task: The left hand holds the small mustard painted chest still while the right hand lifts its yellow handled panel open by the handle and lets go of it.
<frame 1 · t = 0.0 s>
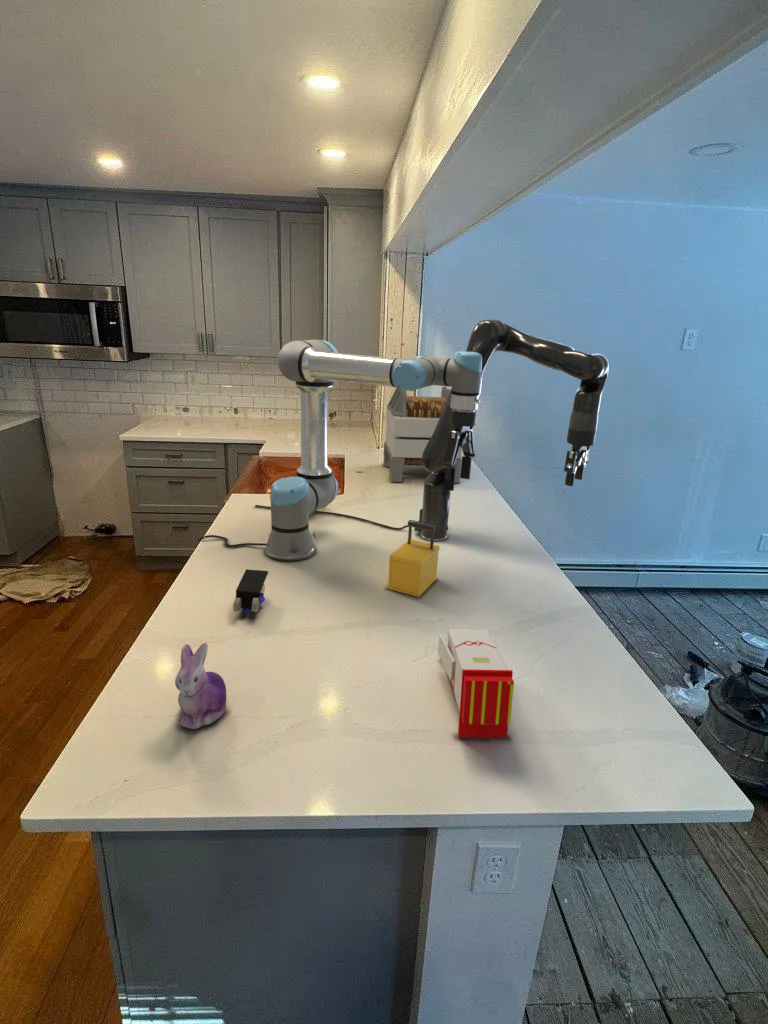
left hand: (457, 484, 163), 28 cm above the counter, tool pointing down, fingers open, 13 cm apart
right hand: (573, 482, 165), 29 cm above the counter, tool pointing down, fingers open, 8 cm apart
figurine character: (252, 606, 148), on the counter
grey storage bin: (419, 473, 275), on the counter
toy: (469, 691, 119), on the counter
chest: (412, 583, 164), on the counter
figurine: (203, 714, 109), on the counter
yellow handled panel: (416, 540, 160), point 14 cm above the counter, hinge at 0.0°
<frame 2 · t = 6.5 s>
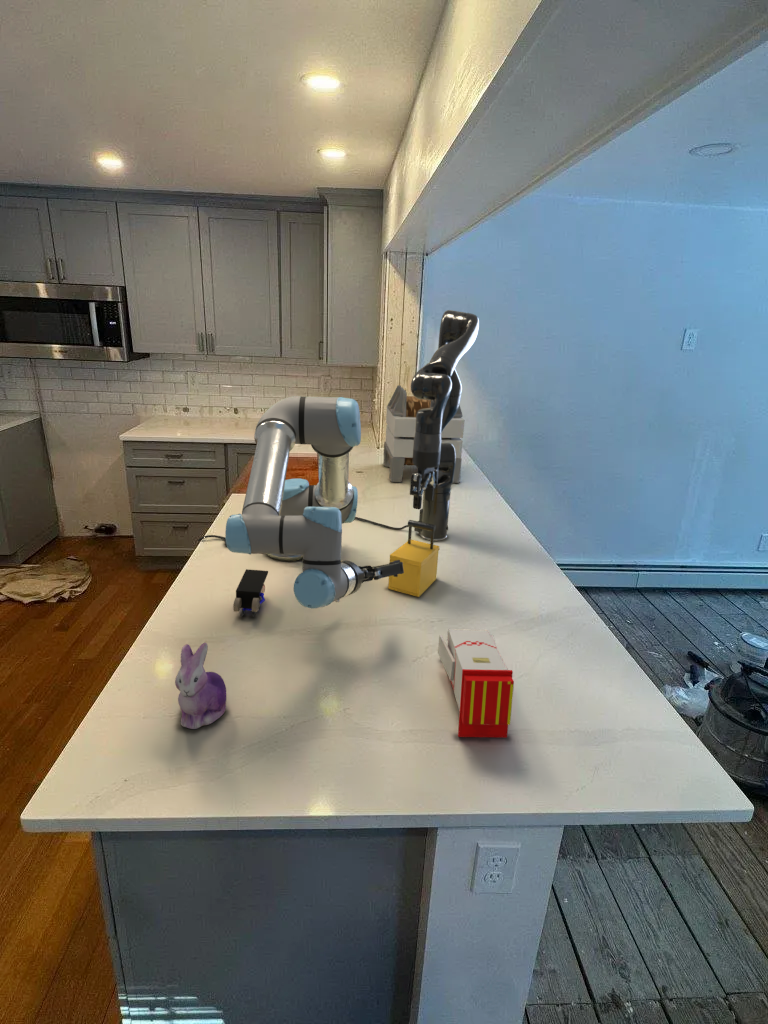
left hand: (373, 568, 141), 14 cm above the counter, tool tilted 75°, fingers open, 13 cm apart
right hand: (423, 504, 159), 23 cm above the counter, tool pointing down, fingers open, 8 cm apart
nothing on the counter moved.
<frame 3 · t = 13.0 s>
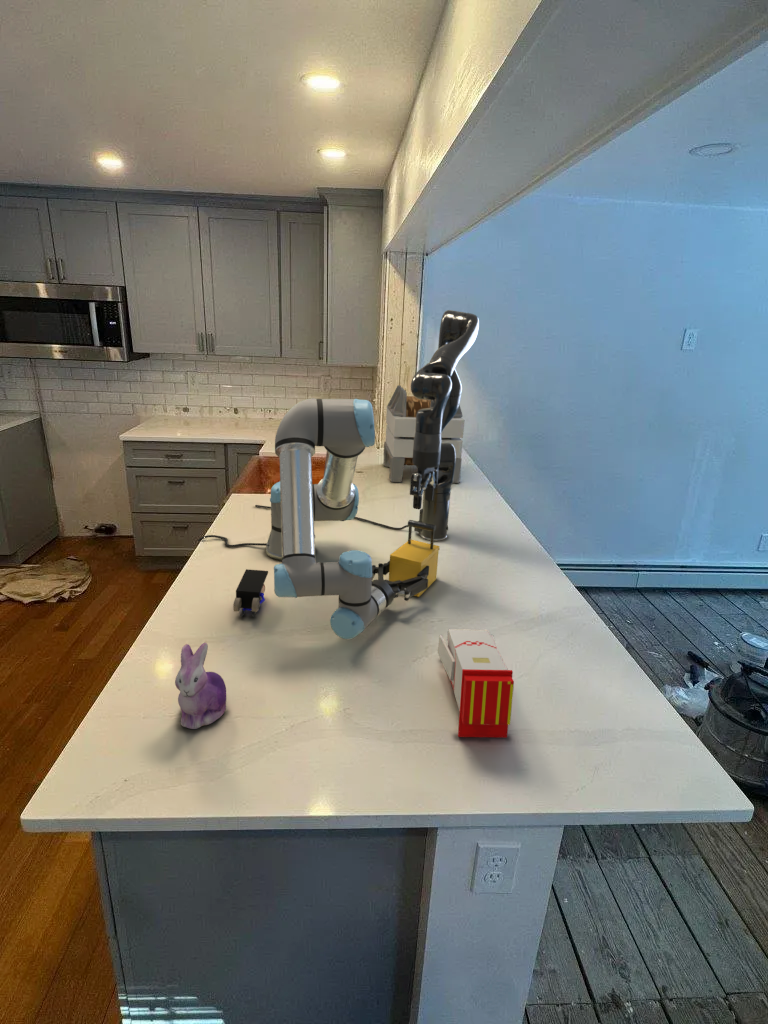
left hand: (410, 566, 160), 7 cm above the counter, tool horizontal, fingers closed on chest, 9 cm apart
right hand: (423, 504, 159), 23 cm above the counter, tool pointing down, fingers open, 8 cm apart
chest: (412, 583, 164), on the counter, touching left hand
everything else where it was.
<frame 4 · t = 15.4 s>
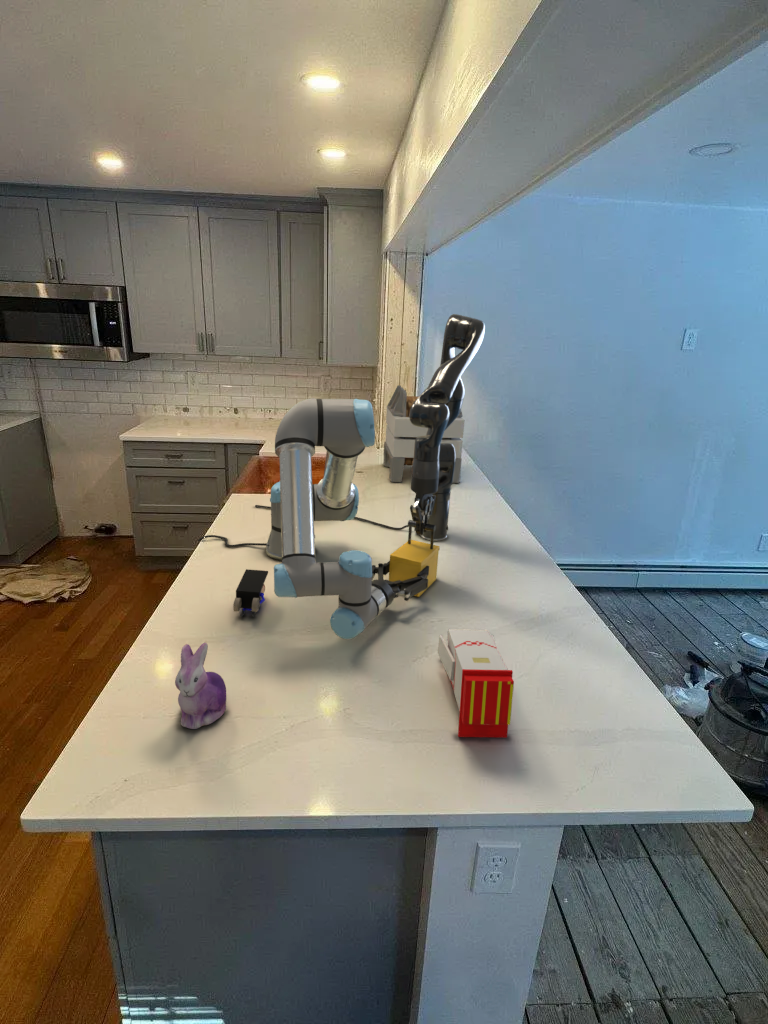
left hand: (410, 566, 160), 7 cm above the counter, tool horizontal, fingers closed on chest, 9 cm apart
right hand: (421, 532, 162), 15 cm above the counter, tool pointing down, fingers closed on yellow handled panel, 2 cm apart
chest: (412, 584, 164), on the counter, touching left hand
yellow handled panel: (416, 540, 160), point 14 cm above the counter, hinge at -0.1°, touching right hand
everything else where it was.
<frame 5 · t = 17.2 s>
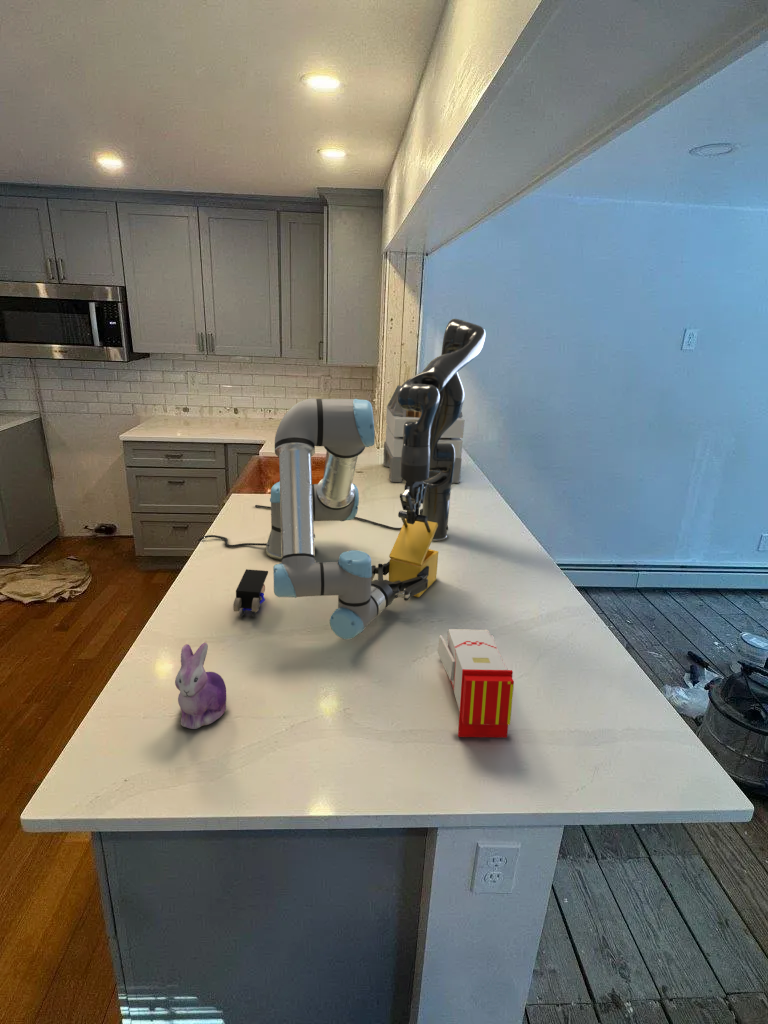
left hand: (410, 566, 160), 7 cm above the counter, tool horizontal, fingers closed on chest, 9 cm apart
right hand: (412, 521, 155), 20 cm above the counter, tool pointing down, fingers closed on yellow handled panel, 2 cm apart
chest: (412, 584, 164), on the counter, touching left hand
yellow handled panel: (410, 533, 155), point 17 cm above the counter, hinge at 39.3°, touching right hand
everything else where it was.
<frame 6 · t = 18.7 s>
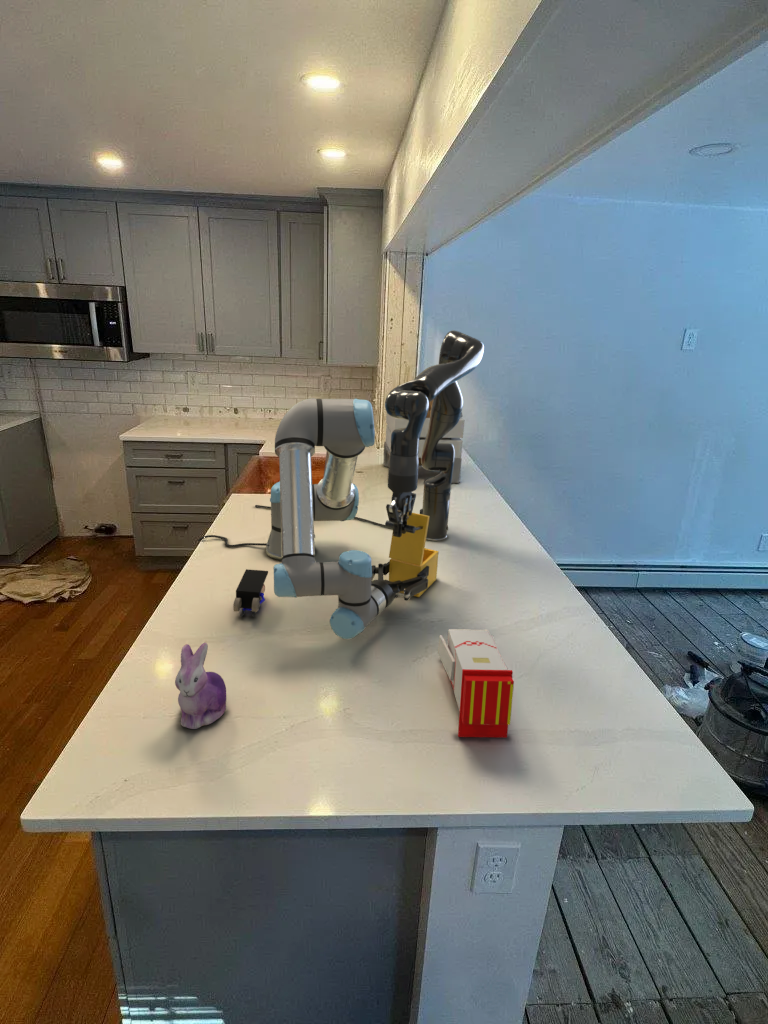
left hand: (410, 566, 160), 7 cm above the counter, tool horizontal, fingers closed on chest, 9 cm apart
right hand: (399, 534, 148), 19 cm above the counter, tool pointing down, fingers closed
chest: (412, 584, 164), on the counter, touching left hand
yellow handled panel: (403, 538, 151), point 17 cm above the counter, hinge at 76.9°
everything else where it was.
when the left hand's fingers open (7 cm above the counter, at t = 22.6 s): chest stays where it is, on the counter.
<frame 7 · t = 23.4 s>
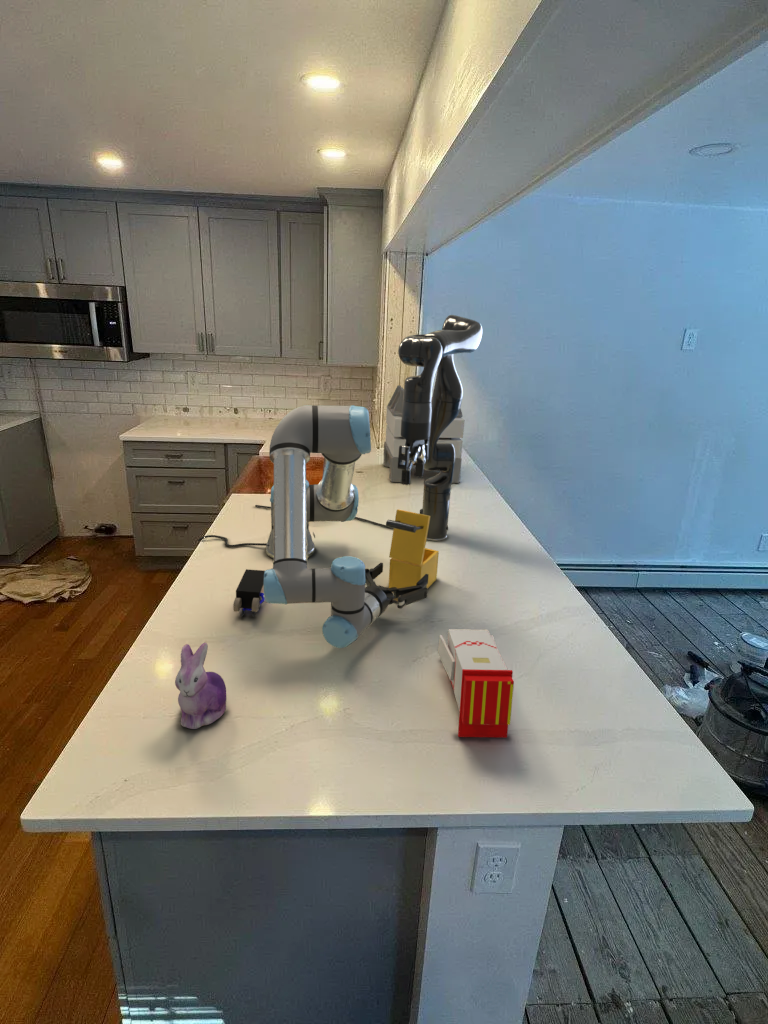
left hand: (404, 572, 155), 7 cm above the counter, tool horizontal, fingers open, 13 cm apart
right hand: (412, 480, 149), 32 cm above the counter, tool pointing down, fingers open, 8 cm apart
chest: (412, 584, 164), on the counter
yellow handled panel: (404, 538, 151), point 17 cm above the counter, hinge at 75.6°
everything else where it was.
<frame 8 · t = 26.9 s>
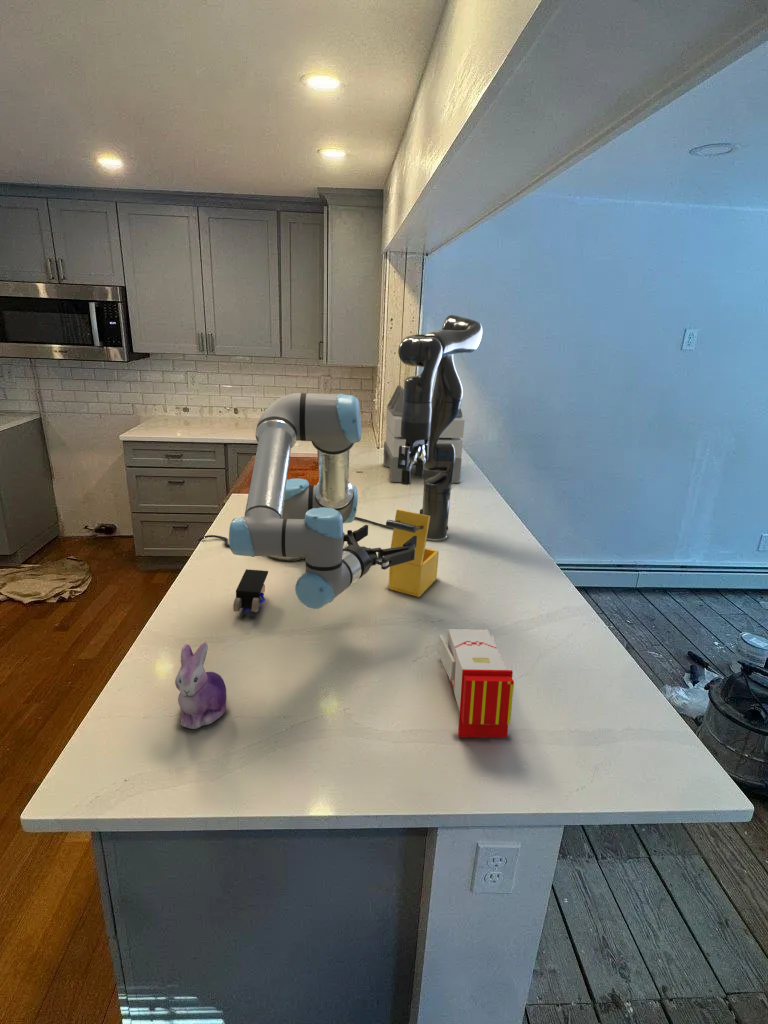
left hand: (390, 535, 143), 21 cm above the counter, tool horizontal, fingers open, 13 cm apart
right hand: (412, 480, 149), 32 cm above the counter, tool pointing down, fingers open, 8 cm apart
nothing on the counter moved.
at the end: yellow handled panel at +76° (first picture: +0°); the left hand is holding nothing; the right hand is holding nothing; chest tilted 0°; chest never tilted more than 1° during the clip; chest moved 0.1 cm from its start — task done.
